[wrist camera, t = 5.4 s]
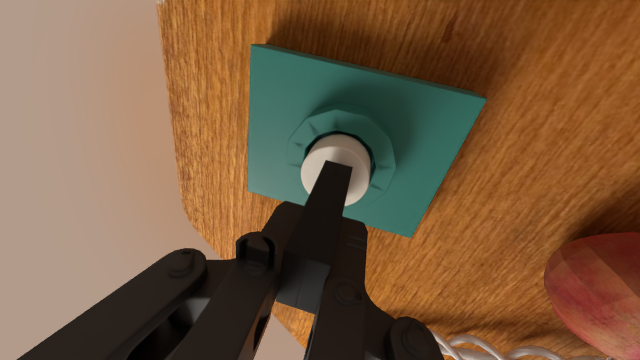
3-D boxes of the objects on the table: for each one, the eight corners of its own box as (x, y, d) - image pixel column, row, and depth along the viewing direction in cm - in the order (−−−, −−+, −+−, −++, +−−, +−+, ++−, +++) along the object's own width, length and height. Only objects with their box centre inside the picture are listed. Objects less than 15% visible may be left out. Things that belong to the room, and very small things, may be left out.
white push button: (305, 180, 17) (296, 197, 15) (314, 126, 15) (305, 137, 13) (360, 196, 16) (358, 214, 15) (378, 143, 14) (378, 157, 12)
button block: (258, 178, 22) (235, 203, 19) (265, 43, 16) (234, 44, 13) (408, 221, 21) (414, 255, 17) (474, 91, 15) (502, 106, 12)
